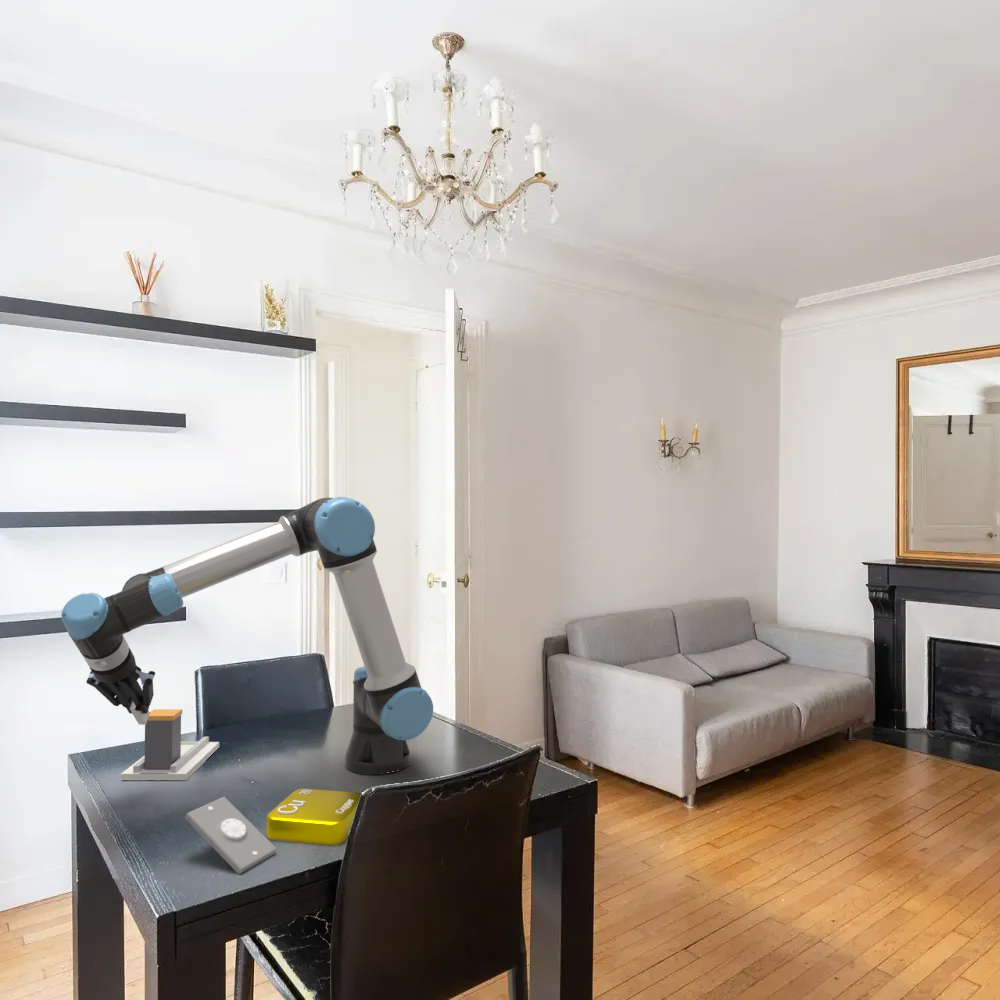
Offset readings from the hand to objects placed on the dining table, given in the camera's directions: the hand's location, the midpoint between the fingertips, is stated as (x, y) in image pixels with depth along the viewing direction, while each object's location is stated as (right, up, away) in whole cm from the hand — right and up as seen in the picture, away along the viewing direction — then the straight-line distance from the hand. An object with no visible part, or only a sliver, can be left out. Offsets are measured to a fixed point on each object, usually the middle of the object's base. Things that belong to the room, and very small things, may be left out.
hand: (144, 718), depth 162 cm
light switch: (+29, -15, -30) cm, 44 cm away
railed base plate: (0, -15, +15) cm, 21 cm away
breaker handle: (0, -13, +9) cm, 16 cm away
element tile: (+41, -16, -17) cm, 47 cm away
